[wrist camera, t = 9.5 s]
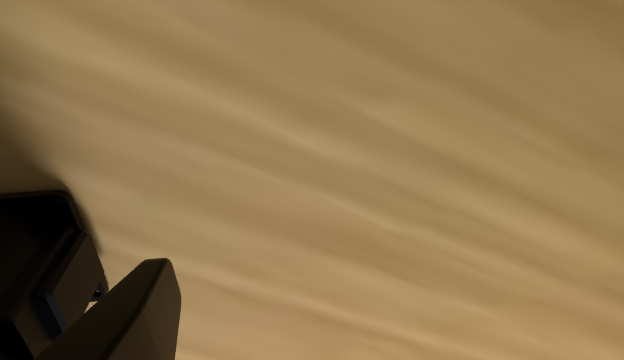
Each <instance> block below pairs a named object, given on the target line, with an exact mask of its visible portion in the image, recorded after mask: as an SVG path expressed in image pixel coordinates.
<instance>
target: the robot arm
mask: <svg viewBox="0 0 624 360" xmlns="http://www.w3.org/2000/svg"><path fill="white" fill-rule="evenodd" d="M55 199H58V200H60V201H62V203H63V204H61V203H58V202H57V201H56V200H55ZM103 274H104V270H103V267H102V265H101V262H100V260H99V257H98V255H97V252H96V250H95V247H94V245H93V242H92V240H91V237H90V235H89V233H88V232H87V231H86V230H85V229H84V226H83V224H82V221H81V219H80V216H79V214H78V211H77V209H76V206H75V204H74V201H73V199H72V197H71V196H70V194H68V193H67V192H65V191H63V190H48V191H36V192H24V193H13V194H1V195H0V360H175V352H176V344H177V336H178V328H179V319H180V311H181V293H180V289H179V286H178V282H177V279H176V276H175V272H174V269H173V266H172V263H171V261H170V260H169V259H167V258H156V259H147V260H144V261H143V262H141V263H140V264H139V265H138V266H137V267H136V268H135V269H133V270H132V271H131V272H130V273H129V274H128V275H127V276H126V277H125V278H123V279H122V280H121V281H120V282H119V283H118V284H117V285H116V286H114V287H113V288H112V289H111V290H110V291H109V288H108V285H107V283H106V280H105V278H104V275H103ZM95 290H97V291H99V292H97V291H95ZM108 291H109V292H108ZM94 301H98V302H97V303H95V304H94V305H93V306H92V307H91V308H90V309H89V310H88V311H86V312H85V310H86V308H87V306H88V304H89V302H94ZM84 312H85V313H84Z"/></svg>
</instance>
